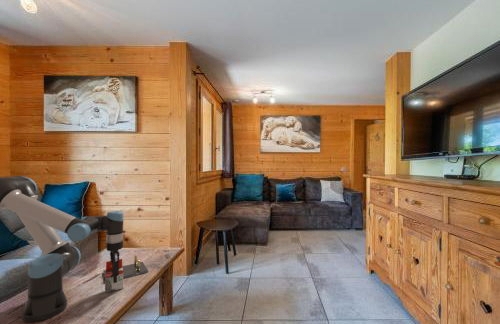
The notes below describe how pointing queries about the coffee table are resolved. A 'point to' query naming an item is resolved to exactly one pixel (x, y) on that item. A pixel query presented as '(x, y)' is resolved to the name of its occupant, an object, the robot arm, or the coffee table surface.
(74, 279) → the coffee table surface
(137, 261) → the plate
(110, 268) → the ink box
